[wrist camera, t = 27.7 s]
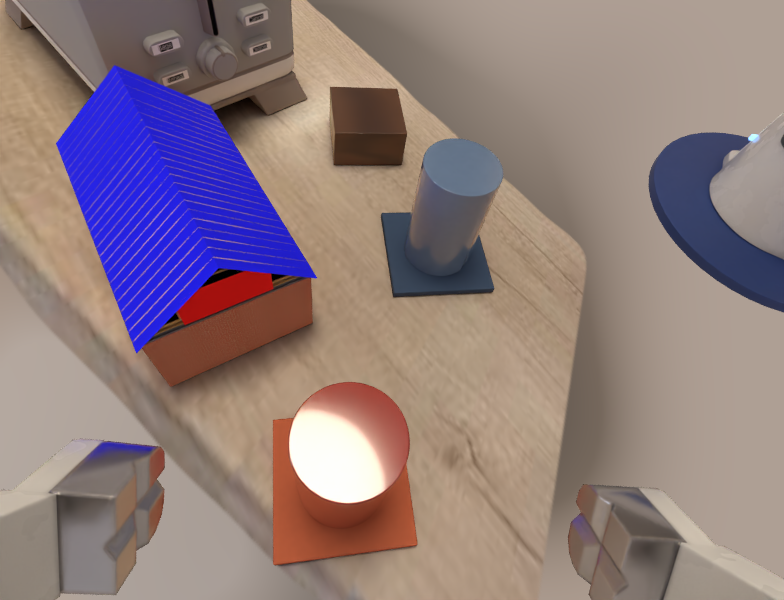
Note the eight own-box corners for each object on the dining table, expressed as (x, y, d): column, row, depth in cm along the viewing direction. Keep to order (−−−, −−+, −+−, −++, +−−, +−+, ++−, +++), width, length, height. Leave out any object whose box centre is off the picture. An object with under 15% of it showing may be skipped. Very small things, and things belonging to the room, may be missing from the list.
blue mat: (470, 215, 47) (472, 211, 46) (492, 292, 42) (494, 288, 42) (380, 216, 45) (381, 212, 45) (393, 296, 40) (394, 293, 40)
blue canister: (460, 223, 45) (492, 138, 37) (474, 275, 42) (512, 195, 34) (399, 224, 44) (417, 137, 36) (408, 277, 41) (430, 196, 33)
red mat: (397, 411, 35) (398, 408, 35) (416, 545, 31) (417, 544, 30) (273, 422, 34) (273, 419, 33) (274, 565, 29) (273, 565, 29)
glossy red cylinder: (381, 431, 34) (401, 377, 25) (392, 522, 31) (418, 496, 22) (296, 439, 33) (286, 386, 24) (298, 534, 30) (288, 512, 21)
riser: (392, 120, 53) (397, 88, 49) (401, 165, 49) (407, 133, 46) (329, 119, 51) (330, 86, 48) (333, 165, 48) (334, 132, 45)
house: (224, 164, 46) (197, 48, 36) (318, 324, 38) (316, 231, 28) (92, 203, 42) (20, 83, 32) (167, 392, 34) (103, 311, 24)
